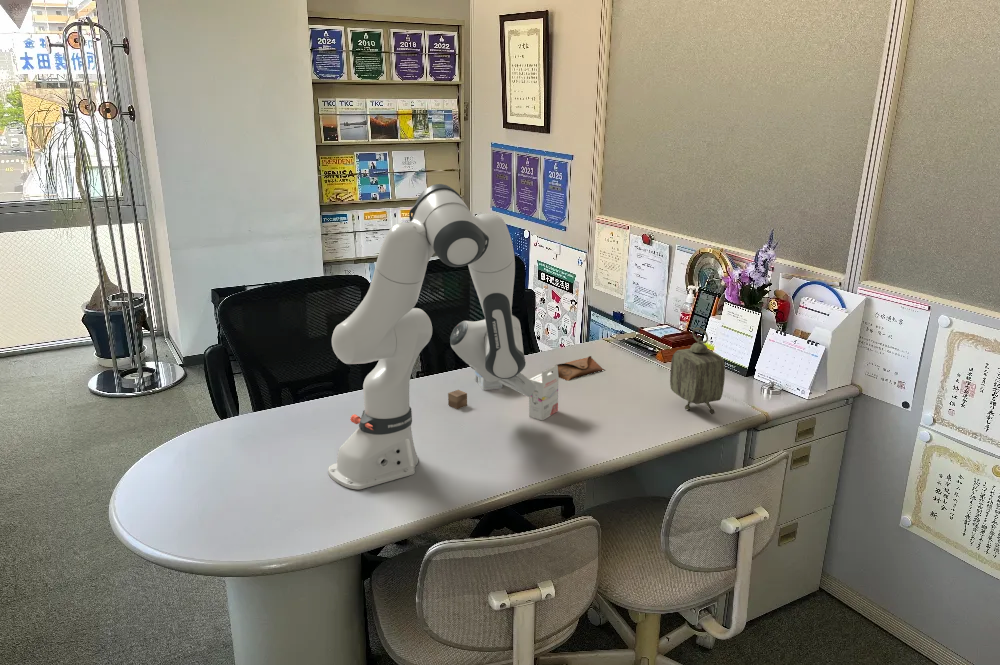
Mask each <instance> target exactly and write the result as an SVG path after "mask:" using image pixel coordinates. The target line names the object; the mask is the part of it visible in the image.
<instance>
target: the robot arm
mask: <svg viewBox="0 0 1000 665" xmlns="http://www.w3.org/2000/svg"><path fill="white" fill-rule="evenodd" d="M408 217H409V222H403V221H402V222H398V223H396V224H394V225H392V226H391V227H390V228H389V230H388V231H387V233H386V235H385V237H384V240H383V242H382V244H381V247H380V249H379V253H378V256H377V259H376V263H375V267H374V271H373V275H372V279H371V282H370V285H369V288H368V290H367V293H366V294H365V296H364V297H363V300H361V302H360V303H359V304H358V306H357V307H356V308H355V310H354V311H353V312H352V313H351V314H350V315H348V317H347V318H345V320H343V321H341V322H340V323H339V324H337V325H336V326H335V328H334V330H333V331H332V332H333V333H332V336H331V347H332V351H333V352H334V354H335V355H336V358H337V359H339V360H340V361H341V362H342V363H344V364H346V365H357V364H358V365H359V364H368V363H373V362H377V361H378V362H377V363H376V365H375V367H374V368H373V369H372V370H371V371H370V372H369V373H367V375H366V376H365V378H364V381H363V384H362V388H363V389H362V390H363V408H364V409H363V410H362V414H361V416H358V415H357V414H352V415H351V416H350V422H351V423H354V424H355V425H358V427H357V428H356V430H354V432H353V433H352V434H351V435H350V436H349V437H348V438H347V439H346V440H345V441H344V442H343V444H342V445H340V447H339V448H338V450H337V451H338V452H337V457H336V462H335V463H333V464H331V465H329V466H328V476H329V477H330V478H331V479H332V480H333V481H334V482H336V483H337V484H339V485H341V486H343V487H345V488H348V489H353V490H362V489H363V490H364V489H366V488H370V487H373V486H378V485H380V484H384V483H387V482H391V481H394V480H398V479H401V478H406V477H408V476H413V475H414V474H415V473H416V466H417V465H418V463H419V457H418V455H417V454H418V453H417V451H416V447H415V443H414V439H413V431H412V423H413V412H412V411H413V410H412V407H411V406H410V387H411V386H410V385H411V384H410V382H411V375H412V371H413V369H414V365H415V363H416V361H417V359H418V357H419V356H420V353H421V352H422V351H423V349H424V348H425V347H426V346H427V345H428V344H429V342H430V341H431V338H432V335H433V326H432V320H431V318H430V317H429V315H428V314H427V313H426V312H425V311H424V310H423V309H421V308H418V307H415V306H416V304H417V303H418V301H419V297H420V294H421V293H420V292H421V291H422V290H421V289H422V287H423V286H422V285H423V282H424V279H425V277H426V276H425V275H426V271H427V269H428V268H427V266H428V263H429V261H430V259H431V258H432V257H433V255H436V257H437V258H438V259H439V261H441V262H442V263H443V264H444V265H446V266H449V267H452V268H461V267H465V266H466V267H467V266H468V270H469V273H470V276H471V279H472V283H473V286H474V289H475V291H476V294H477V297H478V300H479V303H480V306H481V307H480V308H481V309H482V313H483V316H484V319H480V320H477V321H476V320H475V321H470V320H463V321H460V322H459V323H458V324H457V325H456V326H454V328H453V329H452V332H451V334H450V336H449V339H450V340H449V343H450V347H451V349H452V350H453V351H454V352H455V354H456V355H457V356H458V357H459V358H460V359H462V361H463V362H464V363H465V364H467V365H468V366H469V367H470V368H471V369H472V370H474V372H475V371H476V372H477V373H478V374H479V375H481V376H482V377H483V378H484V379H485V380H486V381H489V382H494V381H497V382H499V383H501V384H502V386H505V387H507V388H509V389H512V390H514V391H515V392H517V393H519V394H521V395H524V396H526V397H528V398H529V397H530V396H531V395H532V394H533V392H534V391H535V389H536V385H535V384H534V383H533V382H531V381H530V380H529V379H530V378H528V377H527V376H525V375H524V374H523V373H521V372H522V371H523V370H524V369H525V367H526V362H527V361H526V357H525V354H524V345H523V335H522V329H521V322H520V319H519V318H518V317H516V315H514V314H513V313H512V312H513V311H512V310H513V309H512V307H513V299H514V298H513V296H514V295H513V294H514V285H515V275H516V261H515V260H516V259H515V251H514V245H513V241H512V237H511V234H510V232H509V228H508V226H507V224H506V221H505V220H504V219H503V218H502V217H500V216H499V215H497V214H495V213H491V212H489V213H488V212H485V213H481V214H478V215H473V214H472V212H471V210H470V209H469V207H468V206H467V204H466V203H465V202H464V200H463V199H462V197H461V195H460V194H459V193H458V192H457V191H456V189H454V188H452V187H451V186H449V185H447V184H443V183H437V184H432V185H430V186H428V187H426V188H425V189H424V190H423V191H421V193H420V194H419V196H418V198H417V199H416V201H415V203H414V205H413V206H412V207H411V208H410V210H409V213H408Z"/></svg>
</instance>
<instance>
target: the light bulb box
mask: <svg viewBox="0 0 1000 665" xmlns="http://www.w3.org/2000/svg"><path fill="white" fill-rule="evenodd" d="M474 380H475V382H476V383H477V384H478V386H479V387H480V388H481V389H482V391H489V390H497V389H498V390H499V389H500V390H501V389H503V384H501V383H499V382H497V381H494V382H489V381H486V380H485V379H484V378H483V377H482V376H481V375H479V374H478V373H477V372H476V371H475V370H474Z"/></svg>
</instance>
